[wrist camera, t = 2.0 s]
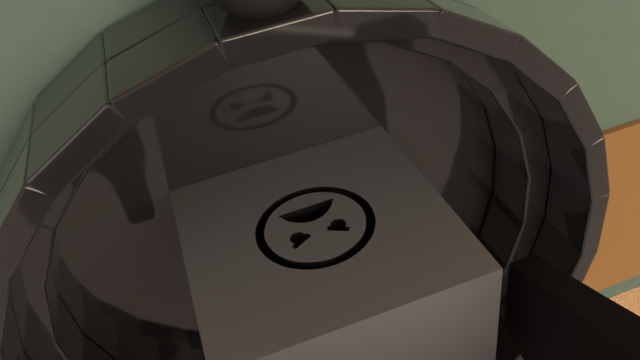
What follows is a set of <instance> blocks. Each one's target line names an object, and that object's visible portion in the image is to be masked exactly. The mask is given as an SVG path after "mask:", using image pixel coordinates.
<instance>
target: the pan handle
mask: <svg viewBox="0 0 640 360" xmlns="http://www.w3.org/2000/svg"><path fill="white" fill-rule="evenodd" d="M213 1H214V2H215V3H216V4H217V5H218V6H219V7H220V8H221V9H222V10H223V11H225V12H226V13H227V14H229V15H230V16H232V17H234V18H237V19H240V20H262V19H268V18H272V17H276V16H279V15H281V14H284V13H286V12H288V11H290V10H291V9H293V8H294V7H295V6H296V5H297V4H298V3H299V2H300V0H213Z"/></svg>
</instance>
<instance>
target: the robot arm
mask: <svg viewBox="0 0 640 360" xmlns="http://www.w3.org/2000/svg"><path fill="white" fill-rule="evenodd" d="M504 328H505V330H506V331H507V333H508V335H509V336H510V338H511V340H512V341H513V343H514V345H515V347H516V348H517V350H518V352H519V353H520V355H521V356H522V358H523V360H640V316H638V315H636V314H635V313H633V312H631V311H629V310H628V309H626V308H624V307H622V306H621V305H619V304H617V303H615V302H614V301H612V300H610V299H609V298H607V297H605V296H604V295H602V294H600V293H599V292H597V291H595V290H594V289H592V288H591V287H589V286H587V285H586V284H584V283H582V282H581V281H579V280H577V279H576V278H574V277H573V276H571V275H569V274H568V273H566V272H564V271H563V270H561V269H560V268H558V267H556V266H555V265H553V264H551V263H550V262H548V261H546V260H545V259H543V258H541V257H540V256H538V255H536V254H533V255H530V256H528V257H525V258H522V259H520V260H517V261H514V262H512V263H509V270H508V282H507V294H506V305H505V317H504Z"/></svg>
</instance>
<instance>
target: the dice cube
mask: <svg viewBox="0 0 640 360" xmlns="http://www.w3.org/2000/svg"><path fill="white" fill-rule="evenodd" d="M169 192H170V197H171V202H172V206H173V211H174V216H175V220H176V225H177V230H178V234H179V239H180V244H181V248H182V253H183V258H184V262H185V267H186V272H187V276H188V281H189V286H190V290H191V295H192V300H193V304H194V309H195V314H196V318H197V323H198V328H199V332H200V337H201V342H202V346H203V351H204V356H205V360H495V359H496V347H497V334H498V322H499V309H500V297H501V284H502V272H503V268H502V267H501V266H500V265H499V263H498V262H497V261H496V260H495V259H494V258H493V256H492V255H491V254H490V253H489V252H488V251H487V249H486V248H485V247H484V246H483V245H482V243H481V242H480V241H479V240H478V239H477V238H476V236H475V235H474V234H473V233H472V232H471V231H470V229H469V228H468V227H467V226H466V225H465V223H464V222H463V221H462V220H461V219H460V218H459V216H458V215H457V214H456V213H455V212H454V211H453V209H452V208H451V207H450V206H449V205H448V203H447V202H446V201H445V200H444V199H443V198H442V196H441V195H440V194H439V193H438V192H437V191H436V189H435V188H434V187H433V186H432V185H431V183H430V182H429V181H428V180H427V179H426V178H425V176H424V175H423V174H422V173H421V172H420V171H419V169H418V168H417V167H416V166H415V165H414V163H413V162H412V161H411V160H410V159H409V158H408V156H407V155H406V154H405V153H404V152H403V151H402V149H401V148H400V147H399V146H398V145H397V143H396V142H395V141H394V140H393V139H392V138H391V136H390V135H389V134H388V133H387V132H386V131H385V129H384V128H383V127H382V126H378V127H375V128H371V129H368V130H365V131H362V132H358V133H355V134H352V135H349V136H345V137H342V138H339V139H336V140H332V141H329V142H326V143H323V144H319V145H316V146H313V147H310V148H306V149H303V150H300V151H297V152H293V153H290V154H287V155H284V156H280V157H277V158H274V159H271V160H267V161H264V162H261V163H258V164H254V165H251V166H248V167H245V168H241V169H238V170H235V171H232V172H228V173H225V174H222V175H219V176H215V177H212V178H209V179H206V180H202V181H199V182H196V183H193V184H189V185H186V186H183V187H180V188H176V189H173V190H170V191H169Z"/></svg>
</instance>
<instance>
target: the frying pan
mask: <svg viewBox="0 0 640 360" xmlns="http://www.w3.org/2000/svg"><path fill="white" fill-rule="evenodd" d="M378 126H382V127H383V128H384V129H385V131H386V132H387V133H388V134H389V135H390V136H391V138H392V139H393V140H394V141H395V142H396V143H397V145H398V146H399V147H400V148H401V149H402V151H403V152H404V153H405V154H406V155H407V156H408V158H409V159H410V160H411V161H412V162H413V163H414V165H415V166H416V167H417V168H418V169H419V171H420V172H421V173H422V174H423V175H424V176H425V178H426V179H427V180H428V181H429V182H430V183H431V185H432V186H433V187H434V188H435V189H436V191H437V192H438V193H439V194H440V195H441V196H442V198H443V199H444V200H445V201H446V202H447V203H448V205H449V206H450V207H451V208H452V209H453V211H454V212H455V213H456V214H457V215H458V216H459V218H460V219H461V220H462V221H463V222H464V223H465V225H466V226H467V227H468V228H469V229H470V231H471V232H472V233H473V234H474V235H475V236H476V238H477V239H478V240H479V241H480V242H481V243H482V245H483V246H484V247H485V248H486V249H487V251H488V252H489V253H490V254H491V255H492V256H493V258H494V259H495V260H496V261H497V262H498V263H499V265H500V266H501V267H502V268H503V272H502V284H501V297H500V309H499V322H498V334H497V347H496V359H495V360H523V358H522V356H521V355H520V353H519V352H518V350H517V348H516V347H515V345H514V343H513V341H512V340H511V338H510V336H509V335H508V333H507V331H506V330H505V328H504V317H505V305H506V294H507V282H508V270H509V263H512V262H514V261H517V260H520V259H522V258H525V257H528V256H530V255H533V254H536V255H538V256H540V257H541V258H543V259H545V260H546V261H548V262H550V263H551V264H553V265H555V266H556V267H558V268H560V269H561V270H563V271H564V272H566V273H568V274H569V275H571V276H573V277H574V278H576V279H577V280H579V281H581V282H582V283H583V280H584V278H585V276H586V274H587V272H588V270H589V268H590V266H591V264H592V262H593V259H594V257H595V255H596V253H597V251H598V248H599V243H600V239H601V234H602V229H603V225H604V220H605V215H606V210H607V206H608V201H609V196H610V194H609V193H610V186H609V175H608V165H607V154H606V143H605V137H604V133H603V131H602V129H601V127H600V125H599V123H598V121H597V120H596V118H595V116H594V114H593V112H592V110H591V108H590V106H589V104H588V102H587V100H586V98H585V96H584V94H583V92H582V90H581V88H580V86H579V84H578V82H577V81H576V80H575V78H573V77H572V76H571V75H570V74H569V73H568V72H566V71H565V70H564V69H563V68H562V67H560V66H559V65H558V64H557V63H556V62H554V61H553V60H552V59H551V58H550V57H548V56H547V55H546V54H545V53H544V52H542V51H541V50H540V49H539V48H538V47H536V46H535V45H534V44H533V43H532V42H530V41H529V40H528V39H527V38H526V37H524V36H523V35H521V34H519V33H518V32H516V31H514V30H513V29H511V28H509V27H508V26H506V25H504V24H503V23H501V22H499V21H498V20H496V19H494V18H493V17H491V16H489V15H488V14H486V13H484V12H483V11H481V10H479V9H478V8H476V7H474V6H473V5H471V4H469V3H468V2H466V1H464V0H300V2H299V3H298V4H297V5H296V6H295V7H294V8H293V9H291V10H290V11H288V12H286V13H284V14H281V15H279V16H276V17H272V18H268V19H262V20H240V19H237V18H234V17H232V16H230V15H229V14H227V13H226V12H225V11H223V10H222V9H221V8H220V7H219V6H218V5H217V4H216V3H215V2H214V1H213V0H156V1H154V2H153V3H151V4H149V5H147V6H145V7H144V8H142V9H140V10H138V11H137V12H135V13H133V14H131V15H130V16H128V17H126V18H124V19H122V20H121V21H119V22H117V23H115V24H114V25H112V26H110V27H108V28H106V29H105V30H104V31H103V33H102V32H101V33H99V34H98V35H97V36H96V37H95V38H94V39H93V40H92V41H91V42H90V43H89V44H88V45H87V46H86V47H85V48H84V49H83V50H82V51H81V52H80V53H79V54H78V55H77V56H76V57H75V58H74V59H73V60H72V61H71V62H70V63H69V64H68V65H67V66H66V67H65V68H64V69H63V70H62V71H61V73H60V74H59V75H58V76H57V77H56V78H55V79H54V80H53V81H52V82H51V83H50V84H49V85H48V86H47V87H46V88H45V89H44V90H43V91H42V92H41V93H40V94H39V95H38V96H37V97H36V102H34V103H33V104H32V106H31V108H30V110H29V112H28V114H27V115H26V117H25V119H24V121H23V123H22V125H21V127H20V129H19V131H18V133H17V135H16V137H15V139H14V141H13V143H12V145H11V147H10V149H9V151H8V153H7V155H6V157H5V159H4V160H3V162H2V164H1V166H0V360H205V356H204V351H203V346H202V342H201V337H200V332H199V328H198V323H197V318H196V314H195V309H194V304H193V300H192V295H191V290H190V286H189V281H188V276H187V272H186V267H185V262H184V258H183V253H182V248H181V244H180V239H179V234H178V230H177V225H176V220H175V216H174V211H173V206H172V202H171V197H170V192H169V191H170V190H173V189H176V188H180V187H183V186H186V185H189V184H193V183H196V182H199V181H202V180H206V179H209V178H212V177H215V176H219V175H222V174H225V173H228V172H232V171H235V170H238V169H241V168H245V167H248V166H251V165H254V164H258V163H261V162H264V161H267V160H271V159H274V158H277V157H280V156H284V155H287V154H290V153H293V152H297V151H300V150H303V149H306V148H310V147H313V146H316V145H319V144H323V143H326V142H329V141H332V140H336V139H339V138H342V137H345V136H349V135H352V134H355V133H358V132H362V131H365V130H368V129H371V128H375V127H378Z"/></svg>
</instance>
